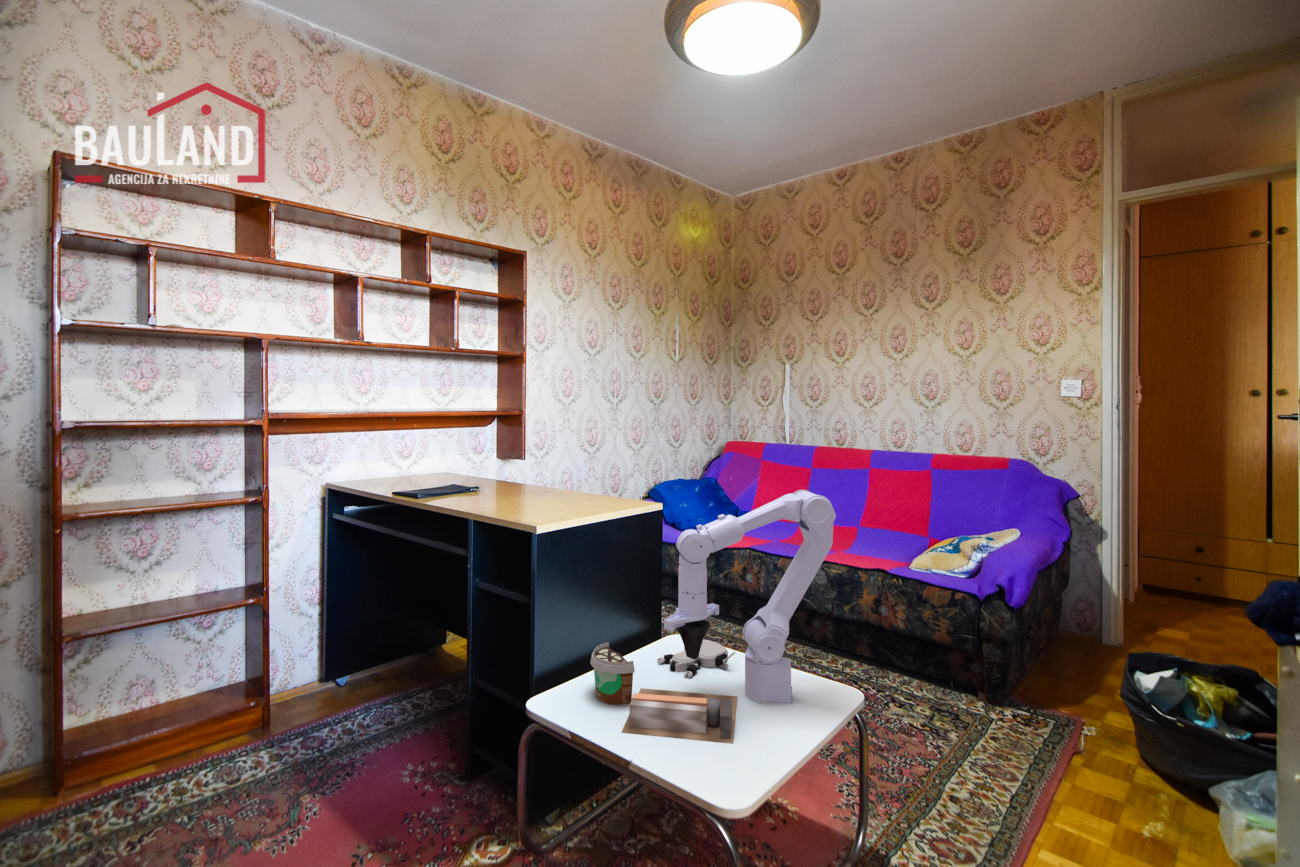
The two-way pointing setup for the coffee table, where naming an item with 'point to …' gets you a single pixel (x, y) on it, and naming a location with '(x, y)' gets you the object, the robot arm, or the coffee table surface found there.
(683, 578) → the robot arm
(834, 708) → the coffee table surface
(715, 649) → the robot toy
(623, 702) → the food container
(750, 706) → the coffee table surface
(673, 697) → the tong arm
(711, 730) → the tong board
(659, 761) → the coffee table surface
